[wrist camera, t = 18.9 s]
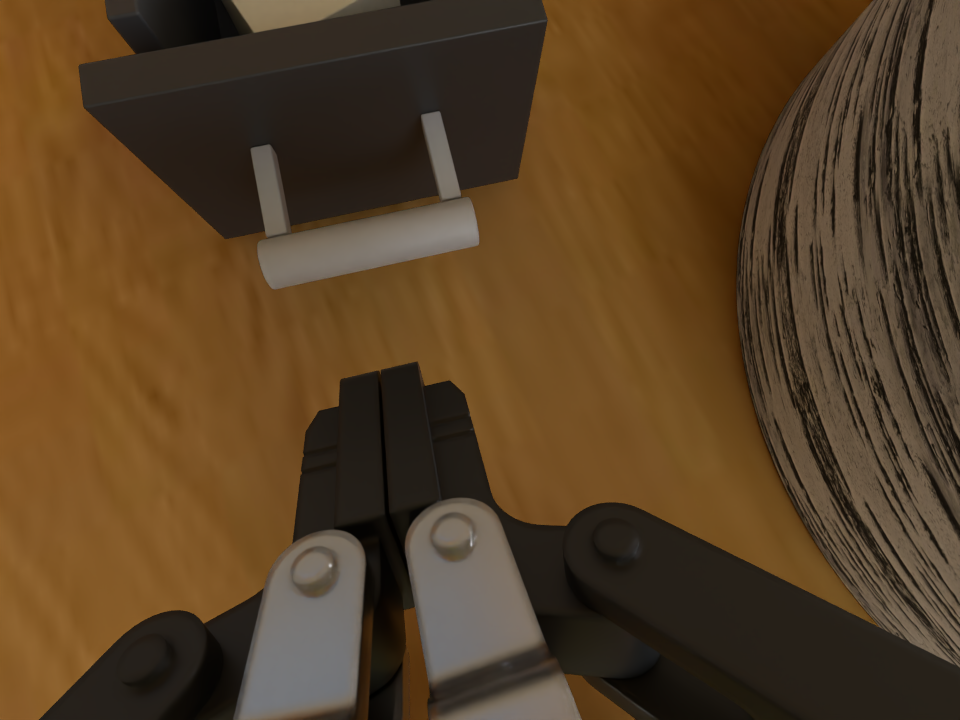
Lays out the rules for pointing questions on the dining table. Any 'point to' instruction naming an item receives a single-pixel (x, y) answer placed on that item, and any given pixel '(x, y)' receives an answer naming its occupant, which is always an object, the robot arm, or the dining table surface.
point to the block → (295, 12)
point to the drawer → (325, 121)
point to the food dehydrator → (866, 312)
